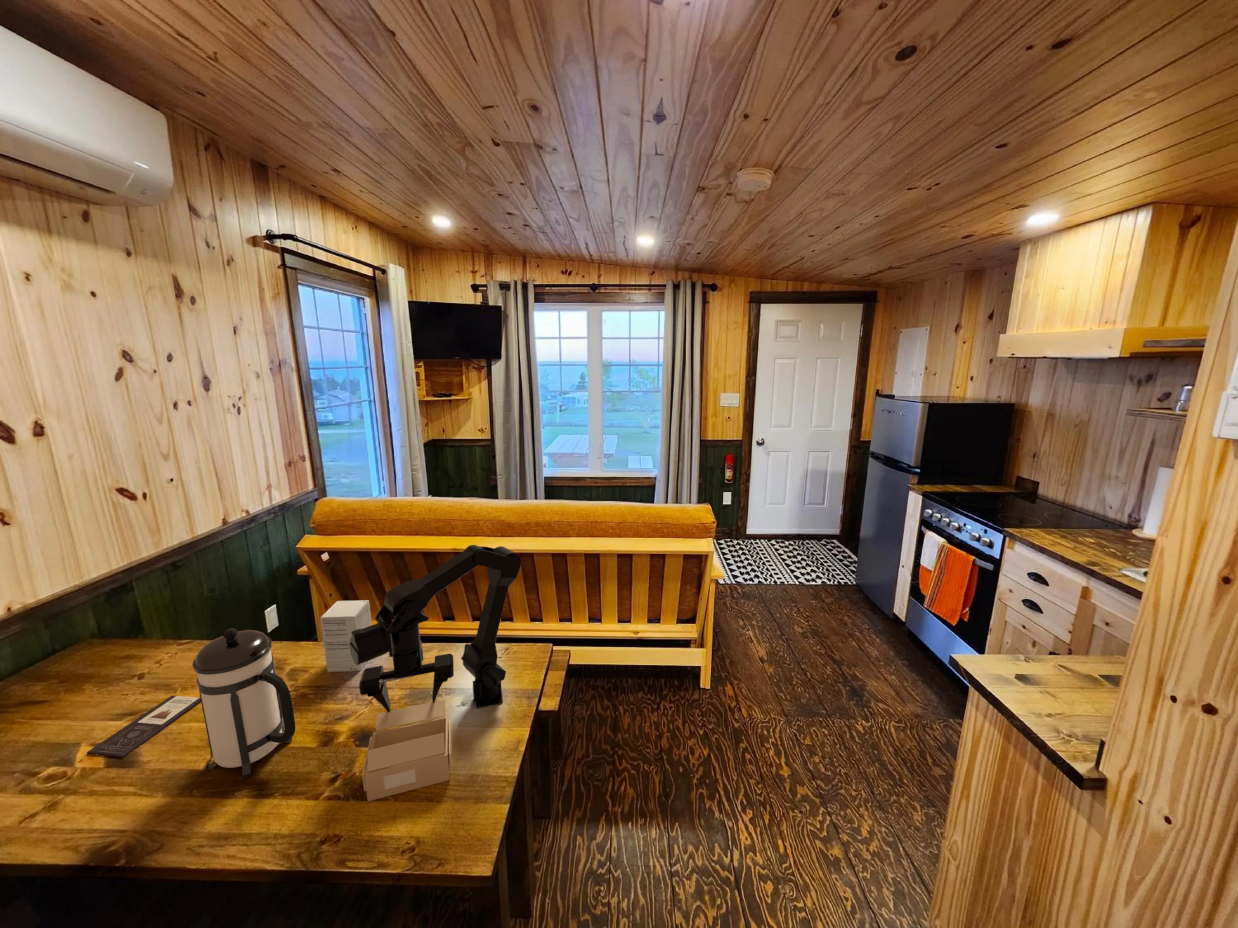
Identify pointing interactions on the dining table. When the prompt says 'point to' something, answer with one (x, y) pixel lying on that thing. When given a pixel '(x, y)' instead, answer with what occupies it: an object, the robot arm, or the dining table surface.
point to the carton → (412, 771)
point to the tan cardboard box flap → (410, 715)
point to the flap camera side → (405, 751)
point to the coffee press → (242, 699)
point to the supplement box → (343, 633)
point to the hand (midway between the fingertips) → (411, 706)
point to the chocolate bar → (145, 726)
